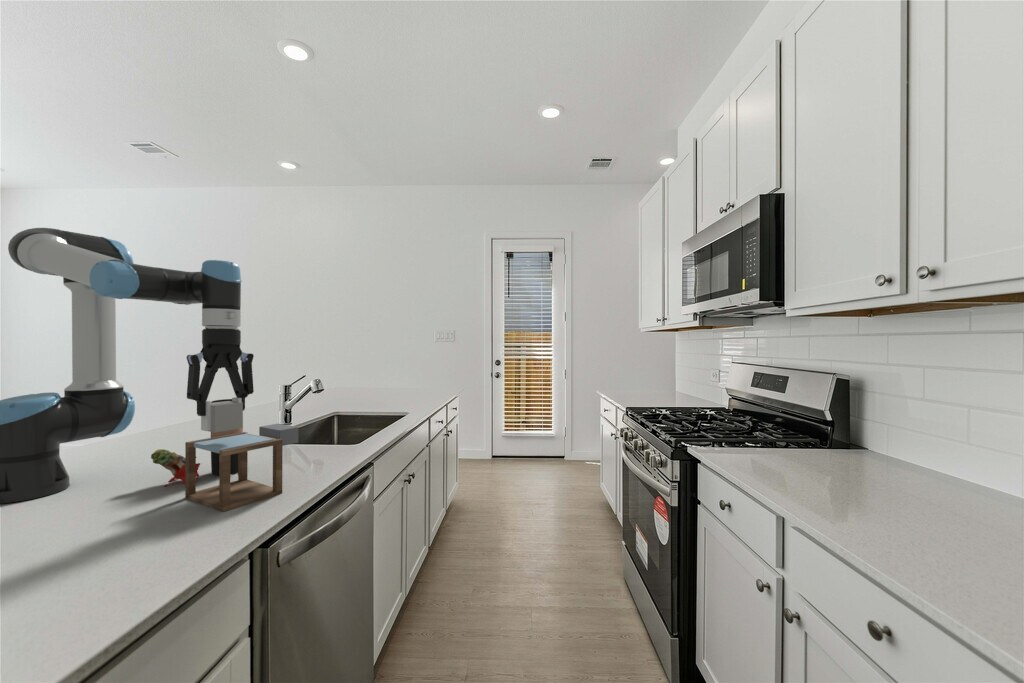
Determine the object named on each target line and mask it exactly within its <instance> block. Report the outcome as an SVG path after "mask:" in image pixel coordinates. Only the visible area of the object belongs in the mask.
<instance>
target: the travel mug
mask: <svg viewBox="0 0 1024 683" xmlns="http://www.w3.org/2000/svg"><path fill="white" fill-rule="evenodd" d="M224 401H232V398H228V399H227V398H225V399H217V400H216V399H215V400H211V403H215V402H224ZM242 432H244V427H243V428H240V429H234V430H228V431H222V432H216V433H215V432H210V438H213V437H219V436H225V435H230V434H236V433H242ZM210 465H211V467H210V468H211V475H212V476H216V477H217V476H219V453H215V452H211V451H210ZM234 474H238V453H236V454H231V455H230V476H231V475H234Z"/></svg>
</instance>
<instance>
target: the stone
mask: <svg viewBox="0 0 1024 683" xmlns="http://www.w3.org/2000/svg"><path fill="white" fill-rule="evenodd" d="M243 413H244V412H243V402H234V401H224V402H215V403H211V430H210V431H208V432H210V433H211V432H215V433H216V432H222V431H228V430H234V429H240V428H243V429H244V419H243V418H244V414H243ZM203 431H204V432H206V431H205V430H203Z"/></svg>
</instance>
